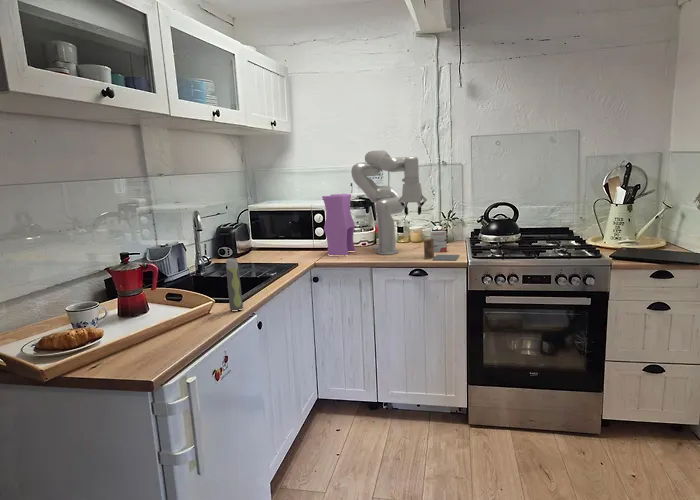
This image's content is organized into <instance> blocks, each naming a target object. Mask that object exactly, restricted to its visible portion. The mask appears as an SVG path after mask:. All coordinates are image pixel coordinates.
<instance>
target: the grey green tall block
mask: <svg viewBox="0 0 700 500" xmlns="http://www.w3.org/2000/svg"><path fill="white" fill-rule="evenodd" d="M225 267H226V279H227V292H228V300H229V301H228V303H229V310H230V309H231V310H239V309H242V308H243V309H244V305H243V295H242V286H241V279H240V269H239V263H238V260H237V258H235V257H229V258H226V259H225Z"/></svg>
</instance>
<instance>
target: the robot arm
mask: <svg viewBox="0 0 700 500" xmlns="http://www.w3.org/2000/svg"><path fill="white" fill-rule="evenodd" d="M419 170H420V169H419V158H418V157H417V156H408V157H407V156H401V157H400V156H399V157H391V155H390V154H389V153H388V152H387V151H386V150H371V151H370V150H369V151H368V152H367V153H365V155H364V162H358V163H356V164H353V165H352V167H351V171H350V173H351V178H352V180H353V182H354V183H355V184H356V185H357V186H358V187H359V188H360V189H361V191H362V192H363V193H364V194H365V196H366V197H367V198H368V199H369V200H370V201H371V203H375V205H374V206H375V207H374V209H375V214H376V218H377V219H376V220H377V231H378V232H377V233H378V245H372V247H371V248H372V250H376V254H377V253H378V255H383V254H384V255H385V256H386V255H394V254H395V255H396V254H398V253H399V250H398V249H397V248H396V230H395V229H396V228H395V220H394V217H392V215H396V214H400V213H402V212H403V211H404V212H403V213H404V215H405V216H407V215H409V207H408V205H409V204H408V203H417V205H418V207H417V215H418V216H419V215H421V214H422V207H423V206H424V204H425V203H426V202H427V201H428V199H427V198H426V197H425V196H424V195H423V191H422V190H423V189H422V185H421V182H420V177H419V176H420V175H419V172H420V171H419ZM382 171H384V172H385V171H386V172H390V173H397V172H400V173H401V172H404V173H403V174H404V178H402V179H401V182H404V183H403V184H402V192H401V193H402V194H401V196H400V195H399V193H397V191H396V190H395V189H394V188H393V187H391V186H389V185H378V184H377V183H375V181H374V180H373V179H371V178H369V177H375V176H378V175H379V174H380V173H381V172H382Z"/></svg>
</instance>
